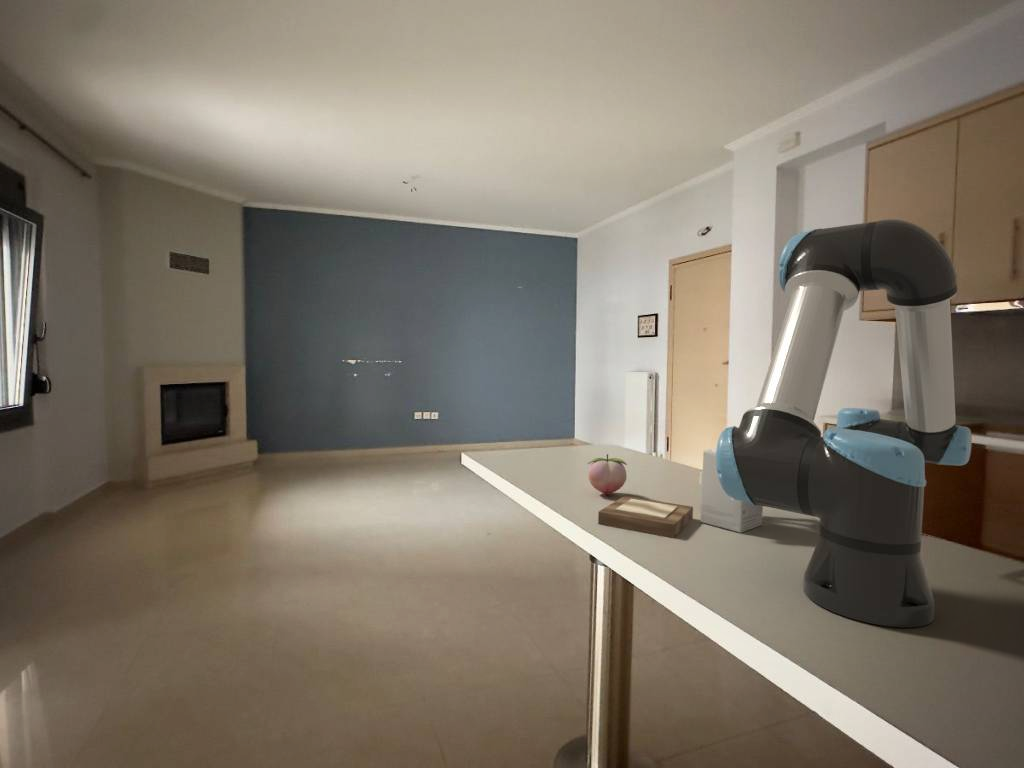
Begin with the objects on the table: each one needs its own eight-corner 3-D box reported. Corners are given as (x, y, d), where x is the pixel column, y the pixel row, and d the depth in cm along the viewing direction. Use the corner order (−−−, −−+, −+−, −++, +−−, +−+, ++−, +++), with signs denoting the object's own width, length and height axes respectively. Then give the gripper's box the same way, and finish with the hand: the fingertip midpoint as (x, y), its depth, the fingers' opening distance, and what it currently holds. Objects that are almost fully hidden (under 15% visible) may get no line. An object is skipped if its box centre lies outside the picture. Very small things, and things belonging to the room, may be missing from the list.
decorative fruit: (622, 491, 137) (623, 451, 137) (628, 499, 129) (629, 457, 129) (584, 490, 137) (585, 450, 137) (588, 498, 129) (589, 456, 129)
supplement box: (741, 534, 104) (744, 456, 104) (698, 522, 111) (701, 449, 111) (763, 525, 110) (766, 451, 110) (722, 515, 117) (724, 445, 116)
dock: (673, 537, 101) (674, 522, 101) (598, 523, 109) (598, 510, 109) (692, 518, 114) (693, 505, 114) (623, 507, 122) (624, 494, 122)
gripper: (856, 518, 102) (749, 521, 98) (775, 487, 125) (686, 489, 122) (858, 478, 101) (751, 480, 98) (776, 455, 125) (688, 456, 122)
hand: (715, 485), depth 110 cm, fingers closed on supplement box, 12 cm apart
